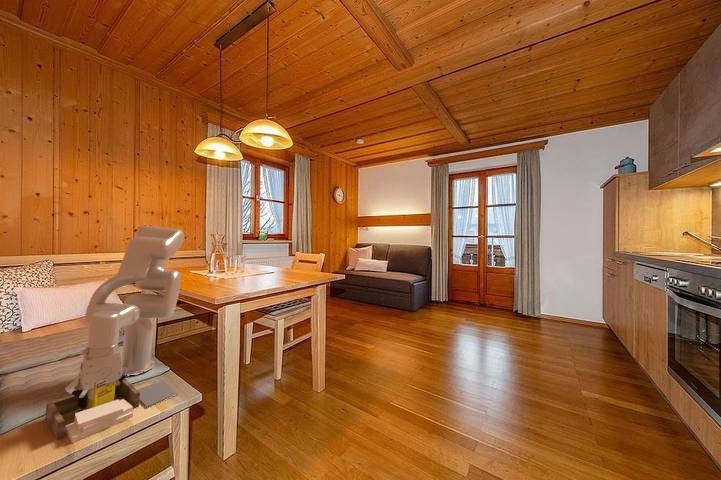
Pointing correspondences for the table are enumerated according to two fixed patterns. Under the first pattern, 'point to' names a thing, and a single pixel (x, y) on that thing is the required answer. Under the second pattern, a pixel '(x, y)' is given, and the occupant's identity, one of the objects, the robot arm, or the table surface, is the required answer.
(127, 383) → the brown wooden tray
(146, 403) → the rubber mat
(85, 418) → the offcut stack
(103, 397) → the supplement box
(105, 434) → the table surface
